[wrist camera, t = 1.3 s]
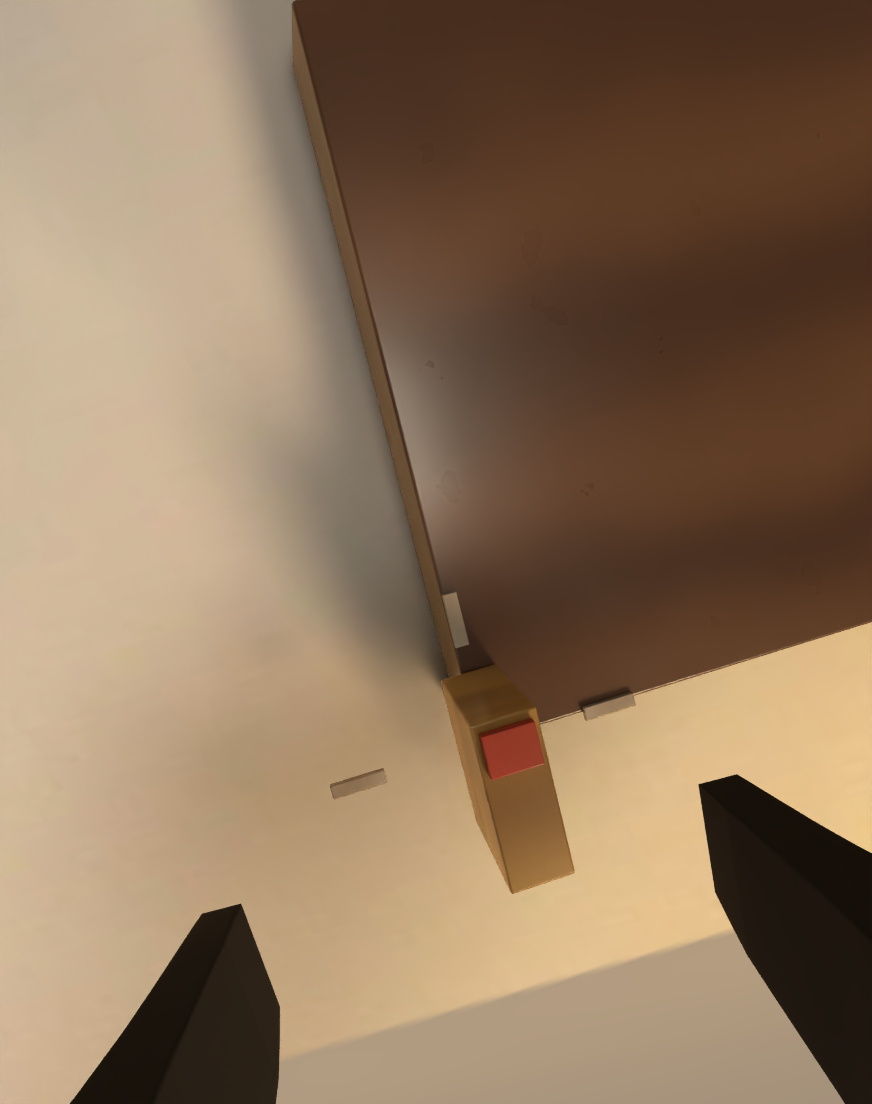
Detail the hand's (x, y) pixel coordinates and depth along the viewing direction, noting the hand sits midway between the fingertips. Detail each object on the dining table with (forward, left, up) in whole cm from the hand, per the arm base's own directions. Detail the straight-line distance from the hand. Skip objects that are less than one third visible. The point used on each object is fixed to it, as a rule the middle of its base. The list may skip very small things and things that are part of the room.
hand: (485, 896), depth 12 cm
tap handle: (-1, -2, -8) cm, 9 cm away
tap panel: (+6, -9, -11) cm, 16 cm away
